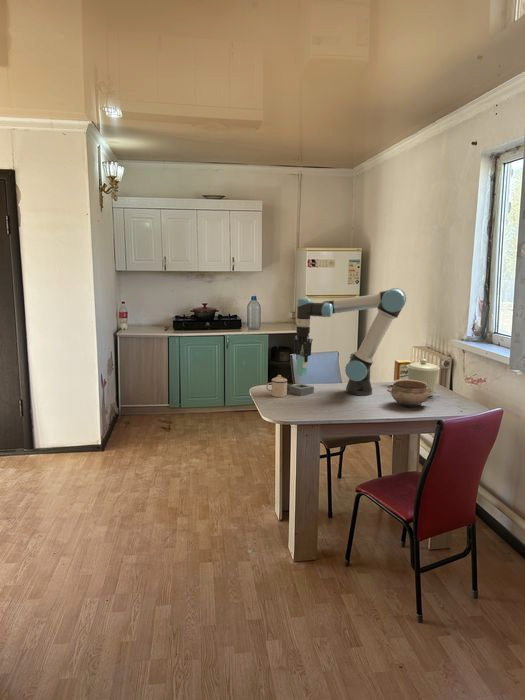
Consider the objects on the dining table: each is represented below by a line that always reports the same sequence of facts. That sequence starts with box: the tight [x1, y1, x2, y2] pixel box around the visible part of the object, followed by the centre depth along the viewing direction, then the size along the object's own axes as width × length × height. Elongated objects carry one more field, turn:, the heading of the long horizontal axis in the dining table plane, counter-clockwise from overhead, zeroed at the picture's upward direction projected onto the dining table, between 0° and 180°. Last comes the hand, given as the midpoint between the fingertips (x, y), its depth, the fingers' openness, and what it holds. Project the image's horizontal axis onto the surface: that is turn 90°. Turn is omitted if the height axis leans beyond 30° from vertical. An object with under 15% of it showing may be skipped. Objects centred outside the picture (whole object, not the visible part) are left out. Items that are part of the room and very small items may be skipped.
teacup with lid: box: [265, 374, 288, 398], centre depth 290 cm, size 12×9×12 cm
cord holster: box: [287, 383, 295, 392], centre depth 304 cm, size 7×7×2 cm
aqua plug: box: [295, 350, 307, 377], centre depth 294 cm, size 4×4×14 cm
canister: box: [407, 358, 441, 398], centre depth 296 cm, size 18×18×21 cm
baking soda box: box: [392, 359, 415, 386], centre depth 316 cm, size 10×6×16 cm
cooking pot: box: [386, 379, 432, 408], centre depth 274 cm, size 25×19×12 cm
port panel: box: [288, 383, 315, 397], centre depth 297 cm, size 10×10×4 cm
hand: (301, 366), depth 295 cm, fingers closed on aqua plug, 4 cm apart
